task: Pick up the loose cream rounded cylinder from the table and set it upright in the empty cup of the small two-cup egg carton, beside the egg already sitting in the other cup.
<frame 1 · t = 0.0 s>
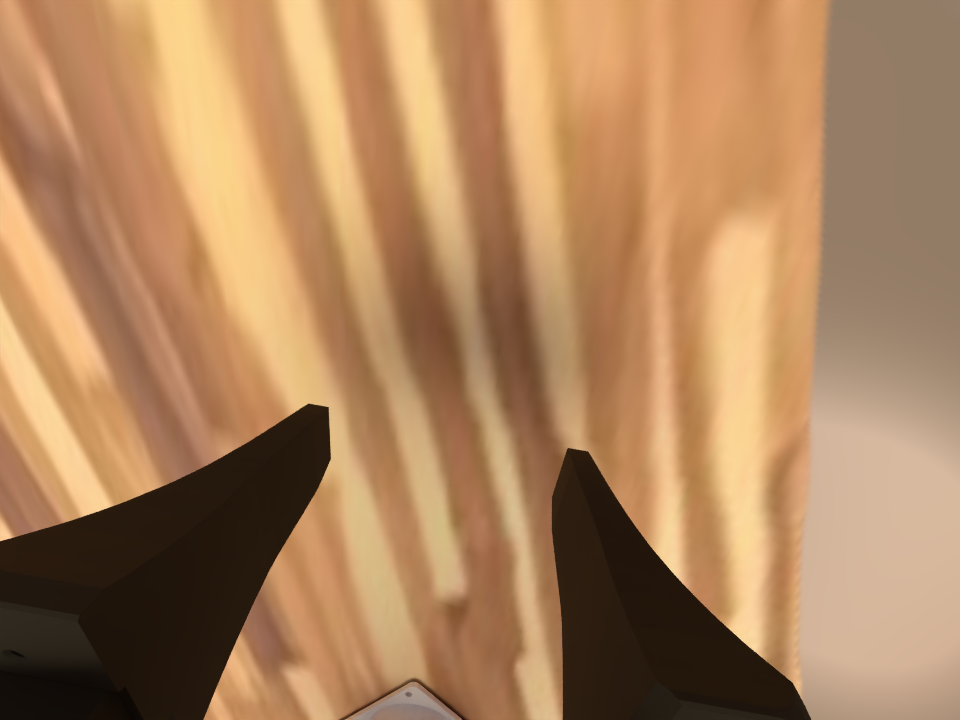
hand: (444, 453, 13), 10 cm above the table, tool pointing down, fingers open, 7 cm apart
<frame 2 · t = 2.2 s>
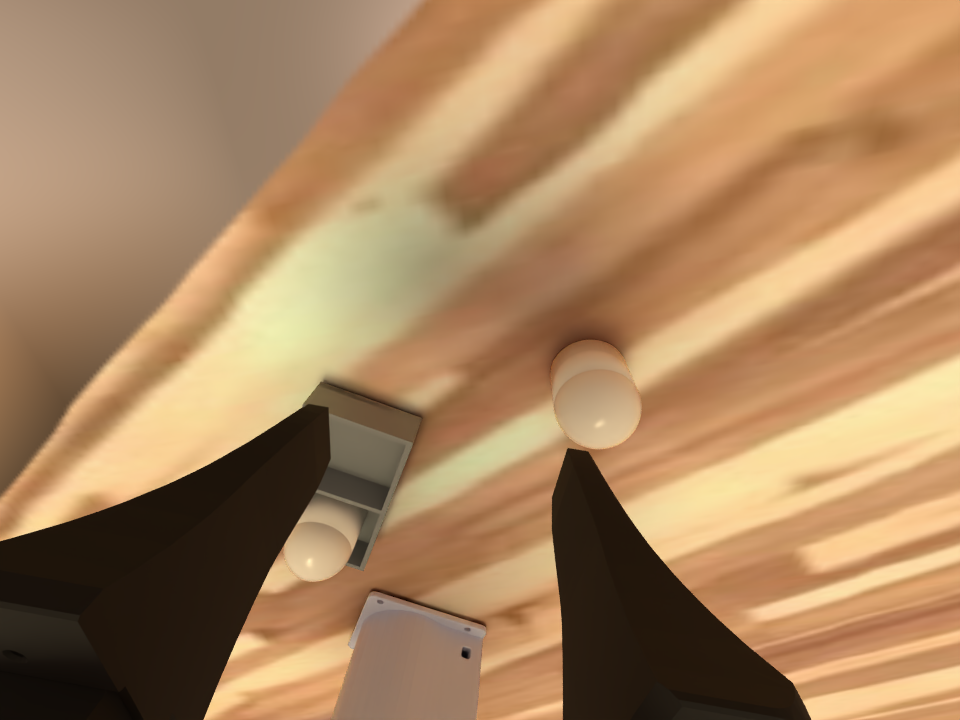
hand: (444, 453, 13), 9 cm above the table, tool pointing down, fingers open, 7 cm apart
cream rounded cylinder: (587, 373, 22), on the table
carton egg: (339, 505, 27), resting on egg carton
egg carton: (350, 471, 26), on the table
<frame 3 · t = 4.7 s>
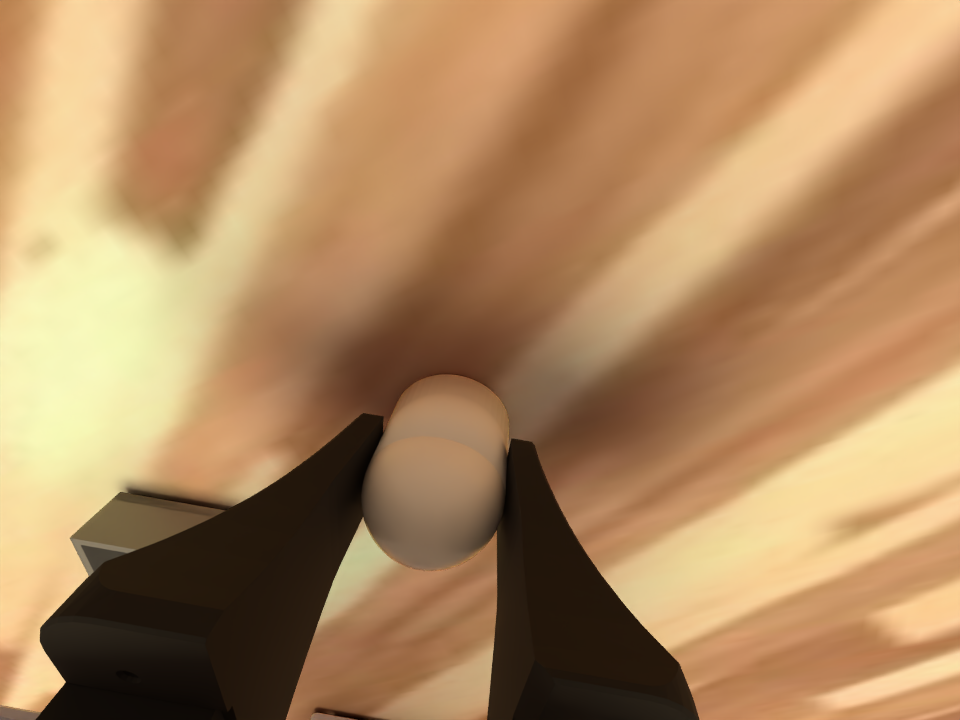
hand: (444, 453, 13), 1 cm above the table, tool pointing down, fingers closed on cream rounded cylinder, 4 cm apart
cream rounded cylinder: (451, 423, 14), on the table, touching gripper
egg carton: (215, 589, 20), on the table
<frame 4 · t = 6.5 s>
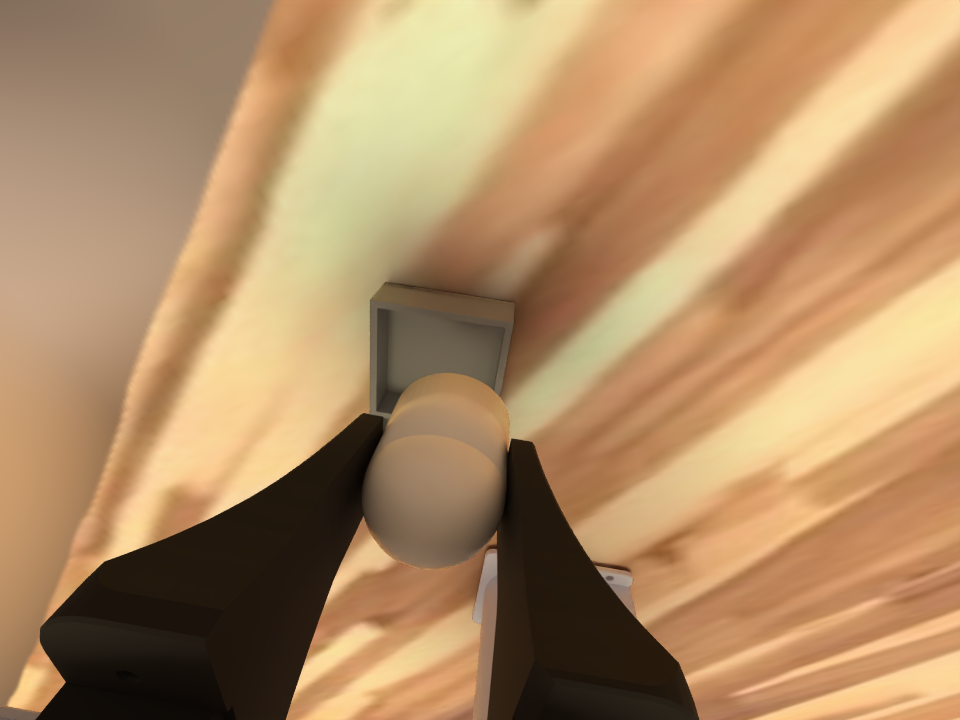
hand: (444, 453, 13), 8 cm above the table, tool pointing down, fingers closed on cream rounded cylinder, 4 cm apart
cream rounded cylinder: (452, 422, 14), point 7 cm above the table, touching gripper
egg carton: (439, 396, 22), on the table
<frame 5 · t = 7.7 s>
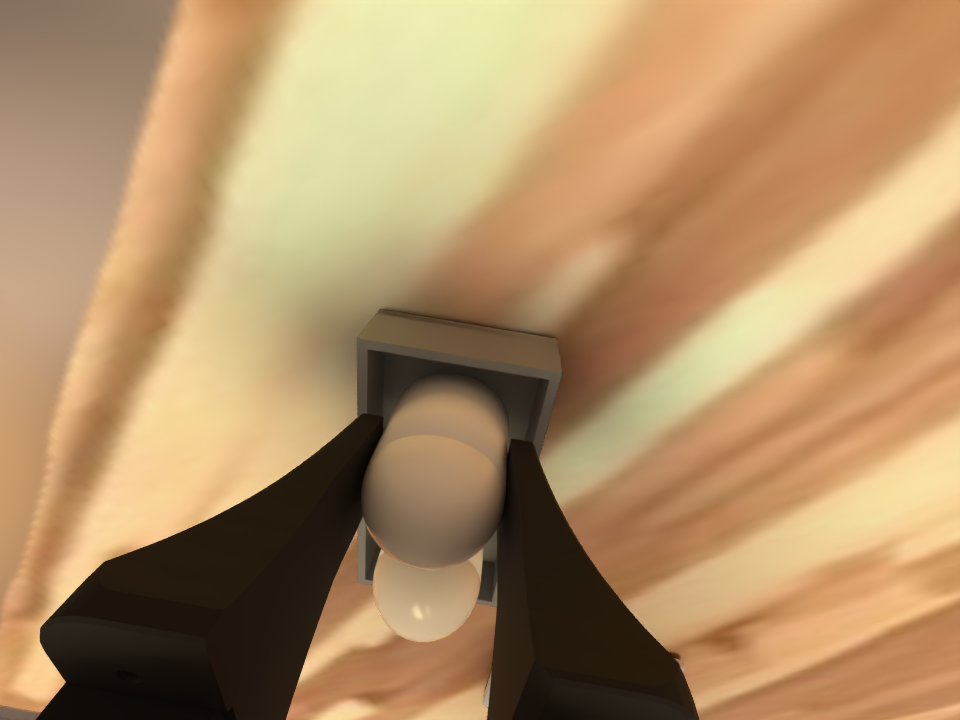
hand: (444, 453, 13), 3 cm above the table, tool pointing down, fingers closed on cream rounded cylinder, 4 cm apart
cream rounded cylinder: (451, 422, 14), point 2 cm above the table, touching gripper
carton egg: (441, 511, 18), resting on egg carton
egg carton: (450, 455, 17), on the table
when the fingers open (3 cm above the table, at t = 8.5 s): cream rounded cylinder drops 1 cm, resting on egg carton.
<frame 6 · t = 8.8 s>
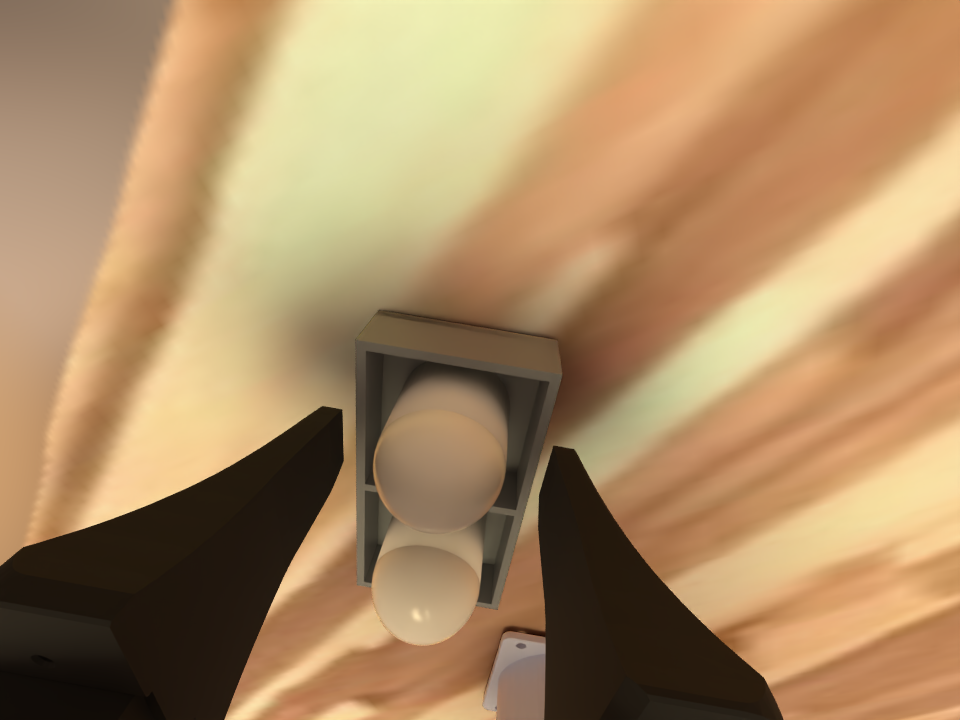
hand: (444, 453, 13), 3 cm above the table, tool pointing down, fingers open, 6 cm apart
cream rounded cylinder: (455, 404, 15), resting on egg carton
carton egg: (441, 513, 18), resting on egg carton
egg carton: (449, 457, 17), on the table
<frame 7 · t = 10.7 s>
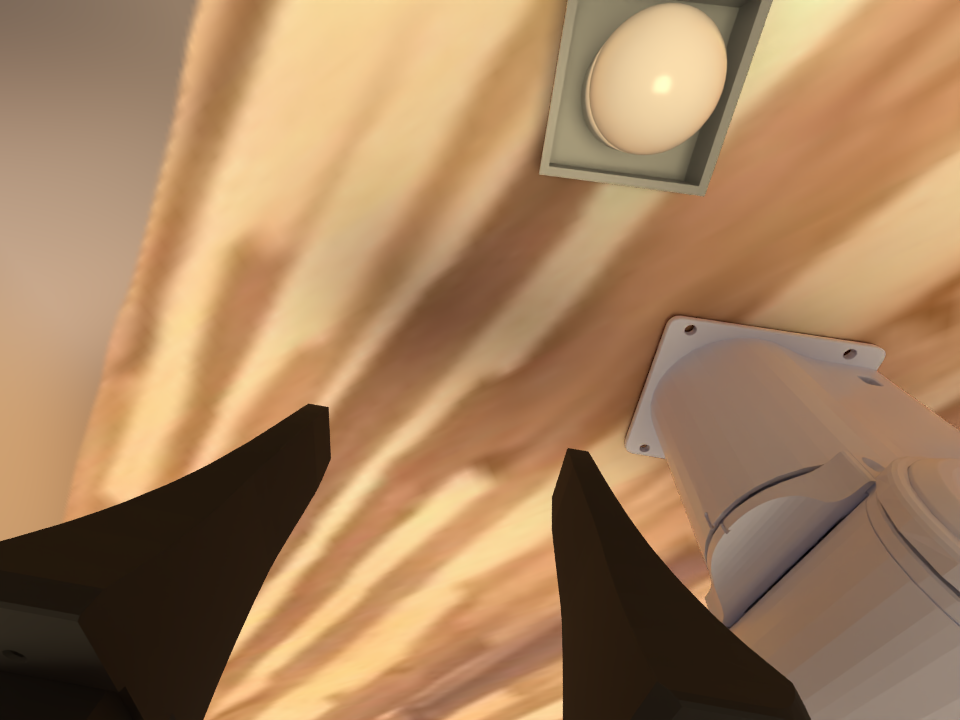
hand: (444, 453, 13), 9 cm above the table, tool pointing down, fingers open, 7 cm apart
carton egg: (634, 92, 15), resting on egg carton
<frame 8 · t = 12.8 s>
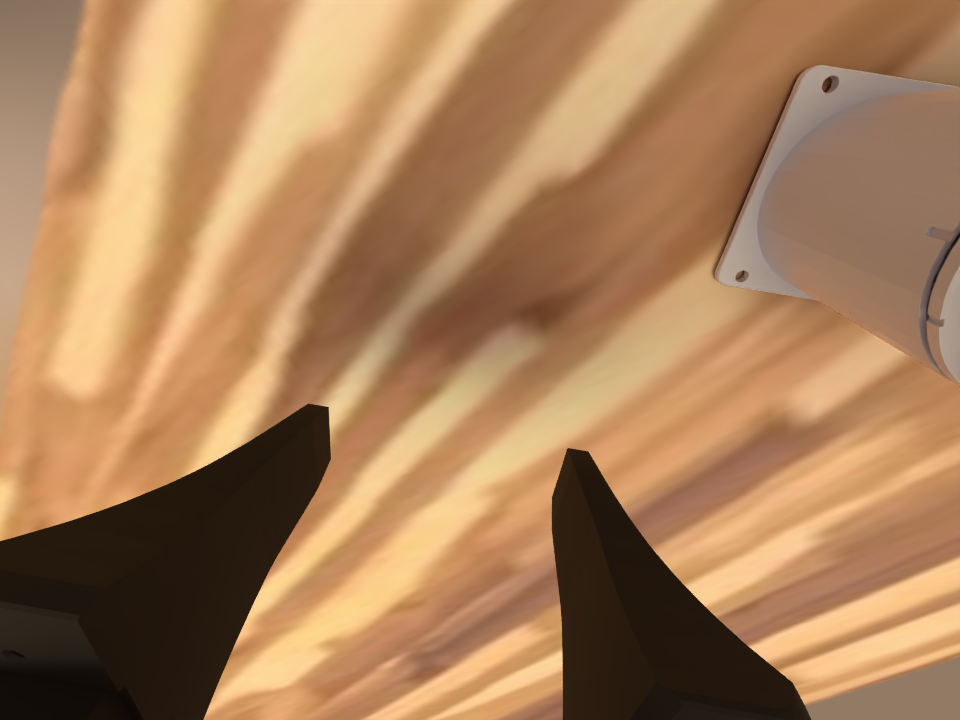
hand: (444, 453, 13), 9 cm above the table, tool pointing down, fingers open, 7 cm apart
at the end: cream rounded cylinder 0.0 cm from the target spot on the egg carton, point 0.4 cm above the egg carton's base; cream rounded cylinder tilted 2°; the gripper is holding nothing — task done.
